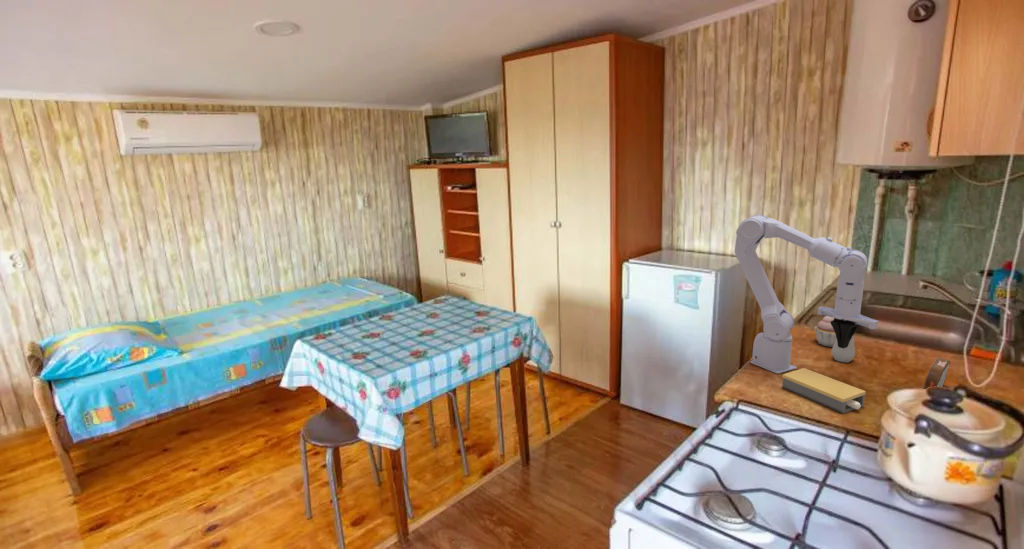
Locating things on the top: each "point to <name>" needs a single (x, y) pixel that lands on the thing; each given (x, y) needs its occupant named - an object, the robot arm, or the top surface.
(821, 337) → the cupcake
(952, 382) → the top surface
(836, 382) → the duct cover
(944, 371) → the tin
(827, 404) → the cable duct
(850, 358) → the salt shaker
